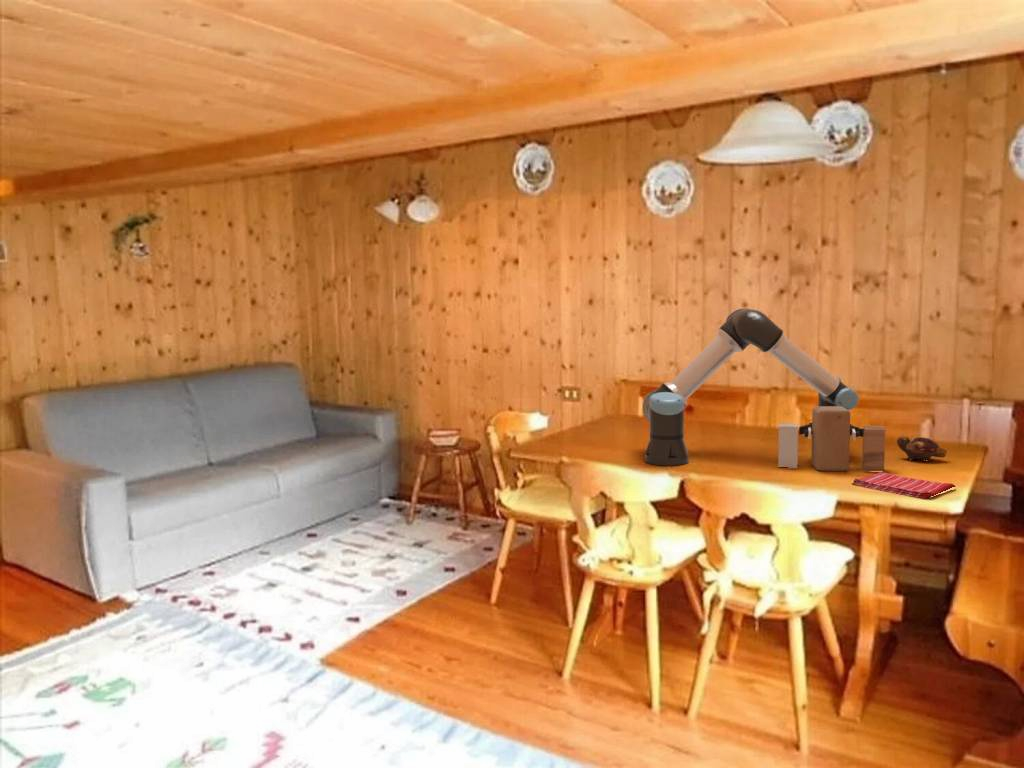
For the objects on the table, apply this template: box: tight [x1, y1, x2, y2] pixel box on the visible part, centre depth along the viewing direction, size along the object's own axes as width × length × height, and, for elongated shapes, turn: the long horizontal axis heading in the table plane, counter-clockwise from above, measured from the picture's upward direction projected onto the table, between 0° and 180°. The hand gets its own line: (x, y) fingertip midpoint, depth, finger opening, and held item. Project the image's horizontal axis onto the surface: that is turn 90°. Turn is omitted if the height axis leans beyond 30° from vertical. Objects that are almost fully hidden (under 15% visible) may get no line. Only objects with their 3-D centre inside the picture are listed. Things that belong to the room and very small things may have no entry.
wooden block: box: [810, 405, 851, 472], centre depth 266 cm, size 10×10×20 cm
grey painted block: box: [777, 422, 799, 469], centre depth 270 cm, size 6×6×14 cm
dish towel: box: [851, 472, 956, 500], centre depth 241 cm, size 17×24×3 cm
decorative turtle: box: [896, 436, 948, 461], centre depth 274 cm, size 10×15×8 cm, turn 68°
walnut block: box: [861, 425, 886, 472], centre depth 262 cm, size 6×6×14 cm
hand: (831, 436), depth 265 cm, fingers open, 13 cm apart
